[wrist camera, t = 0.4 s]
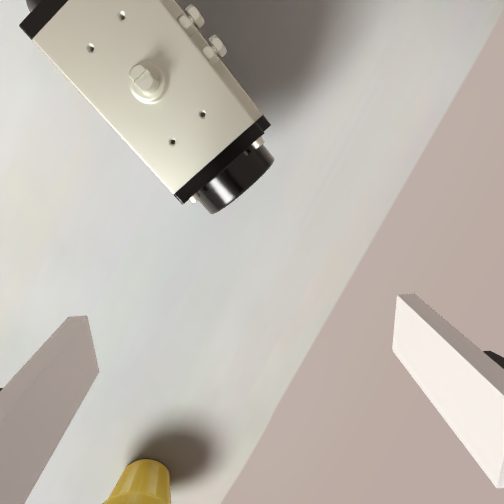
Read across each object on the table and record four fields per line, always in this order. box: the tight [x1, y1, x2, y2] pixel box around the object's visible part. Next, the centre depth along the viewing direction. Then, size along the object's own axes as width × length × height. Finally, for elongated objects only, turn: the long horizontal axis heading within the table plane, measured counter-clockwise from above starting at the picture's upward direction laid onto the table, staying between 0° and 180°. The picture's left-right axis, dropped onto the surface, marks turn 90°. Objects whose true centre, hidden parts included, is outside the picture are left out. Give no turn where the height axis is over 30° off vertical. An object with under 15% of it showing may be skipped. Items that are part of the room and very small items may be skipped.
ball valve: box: [19, 0, 274, 214], centre depth 28 cm, size 18×8×18 cm, turn 40°
